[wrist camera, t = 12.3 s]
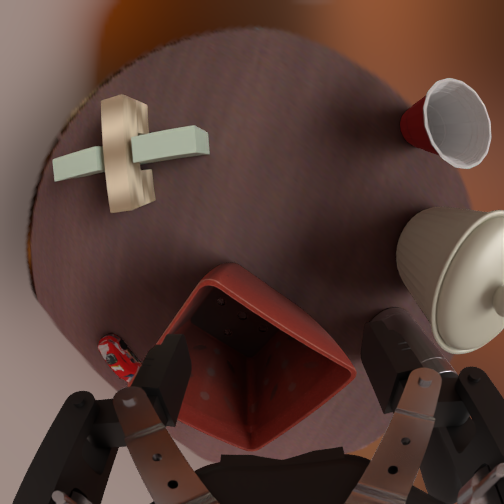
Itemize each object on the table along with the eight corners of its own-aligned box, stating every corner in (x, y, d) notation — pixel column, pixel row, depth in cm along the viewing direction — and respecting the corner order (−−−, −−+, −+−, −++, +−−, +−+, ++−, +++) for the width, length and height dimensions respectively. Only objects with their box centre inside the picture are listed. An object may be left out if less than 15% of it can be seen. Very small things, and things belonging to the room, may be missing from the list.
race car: (159, 380, 49) (153, 394, 45) (139, 385, 50) (133, 398, 46) (117, 328, 46) (108, 340, 42) (99, 336, 47) (89, 348, 43)
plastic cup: (369, 114, 34) (409, 99, 22) (416, 83, 31) (462, 65, 20) (408, 178, 36) (456, 187, 25) (451, 143, 34) (502, 144, 22)
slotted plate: (155, 200, 38) (131, 210, 31) (136, 202, 38) (110, 213, 31) (147, 105, 34) (122, 94, 26) (128, 109, 34) (101, 100, 26)
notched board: (207, 132, 35) (194, 125, 28) (209, 154, 36) (196, 152, 28) (84, 157, 36) (52, 159, 29) (85, 176, 37) (54, 181, 30)
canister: (358, 228, 39) (437, 291, 19) (445, 170, 35) (547, 189, 15) (399, 316, 43) (459, 400, 23) (473, 261, 39) (551, 313, 19)
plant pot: (227, 227, 39) (205, 274, 23) (330, 301, 42) (361, 374, 26) (162, 320, 44) (123, 390, 28) (255, 376, 47) (253, 453, 31)
